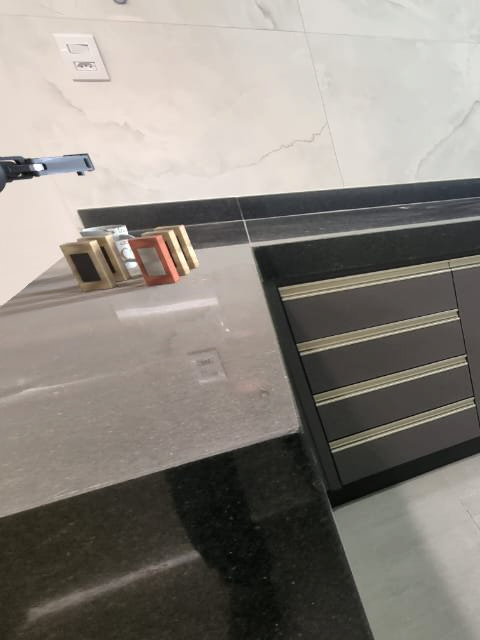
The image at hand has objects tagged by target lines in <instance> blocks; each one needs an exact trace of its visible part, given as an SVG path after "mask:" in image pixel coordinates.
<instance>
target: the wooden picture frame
mask: <svg viewBox="0 0 480 640" xmlns="http://www.w3.org/2000/svg"><path fill="white" fill-rule="evenodd" d="M156 235H162V238H163V240H164V242H165V245H166V247H167V249H168V252H169V254H170V256H171V259H172V261H173V264H174V266H175V268H176V271H177V273H178V275H179V277H181V276H187V275H189V274H190V273H191V270H190V269H197V268H198V267H200V262H199V260H198V258H197V255H196V253H195V251H194V247H193V245H192V243H191V240H190V238H189V236H188V233H187V231H186V228H185V225H184V224H177V225H167V226H158V227H155V228H153V231H146V232H143V233H141V234H140V237H146V236H156Z"/></svg>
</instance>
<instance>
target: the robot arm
mask: <svg viewBox="0 0 480 640" xmlns="http://www.w3.org/2000/svg"><path fill="white" fill-rule="evenodd" d="M92 161H93V160H92V159H91V157H90V155H89V152H88V153H86V152H85V153H74V154H73V153H72V154H63V155H62V156H49V157H34V158H33V157H32V158H31V157H26V158H25V157H24V156H21V155H11V156H9V155H8V156H0V194H1V193H2V192H3V191H4V189H5V187H6V185H7V184H9V183H10V184H11V183H13V181H23V180H31V179H33V178H40V177H41V176H49V175H58V174H59V175H61V174H69V173H76V174H77V176H78V177H80V176H81V177H82V176H84V177H85V176H86V174H85V172H89V173H90V172H93V171H95V170H96V168H95V166H94V164H93V162H92Z"/></svg>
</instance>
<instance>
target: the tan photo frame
mask: <svg viewBox="0 0 480 640" xmlns="http://www.w3.org/2000/svg"><path fill="white" fill-rule="evenodd" d="M59 249H60V250H61V252H62V254H63V256H64V258H65V260H66V262H67V264H68V266H69V268H70V270H71V272H72V274H73V276H74V278H75V280H76V282H77V284H78V285H79V286H78V287H80V289H81V291H82V292H83V293H85V292H94V291H101V290H102V291H103V290H109V289H110V290H111V289H113V288H115V287H116V286H118V282H124V281H127V280H129V279H130V278H132V276H131V274H130V271H129V269H127V267H126V265H125V263H124V261H123V259H122V256H121V254H120V252H119V250H118V248H117V246H116V243H115V241H114V239H113V237H112V235H111V234H109V235H98V236H88V237H82V236H81V237H80V238H77V239H76V241H72V242H66V243H62V244H60V245H59Z"/></svg>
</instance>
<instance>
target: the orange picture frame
mask: <svg viewBox="0 0 480 640" xmlns="http://www.w3.org/2000/svg"><path fill="white" fill-rule="evenodd" d="M134 237H135V236H134ZM127 241H128V243H129V245H130V248H131V250H132V252H133V254H134V257H135V259H136V261H137V262H136V264H137V266H138V268H139V269H140V272H141V274H142V276H143V278H144V280H145V283H146V285H147V286H148V287H150V286H159V285H167V283H168V284H173V283H172V282H175V283H177V282H179V281H180V280H181V278H180V276H179V275H178V273H177V271H176V268H175V266H174V264H173V261H172V259H171V256H170V254H169V252H168V249H167V247H166V245H165V242H164V240H163V238H162V235H156V236H146V237H142V236H138V237H135V238H131V239H129V240H127ZM179 279H180V280H179ZM176 281H177V282H176Z"/></svg>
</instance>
